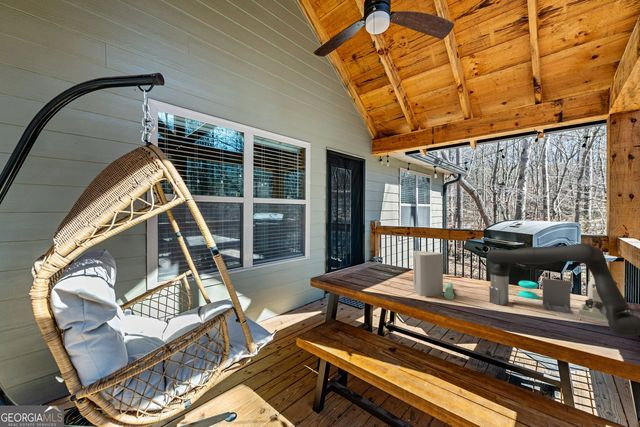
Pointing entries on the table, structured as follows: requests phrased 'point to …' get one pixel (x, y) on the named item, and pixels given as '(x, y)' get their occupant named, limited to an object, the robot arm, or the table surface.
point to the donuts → (528, 286)
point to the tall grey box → (428, 273)
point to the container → (449, 291)
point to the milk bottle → (590, 285)
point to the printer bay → (556, 295)
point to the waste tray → (590, 313)
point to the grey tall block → (594, 298)
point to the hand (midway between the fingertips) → (602, 301)
